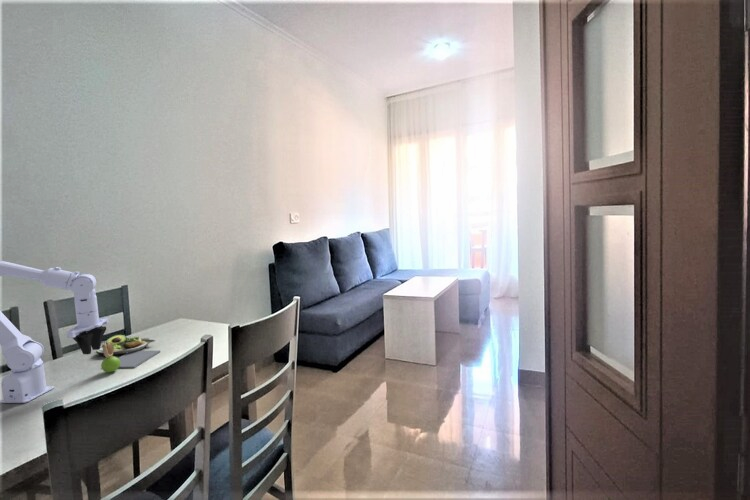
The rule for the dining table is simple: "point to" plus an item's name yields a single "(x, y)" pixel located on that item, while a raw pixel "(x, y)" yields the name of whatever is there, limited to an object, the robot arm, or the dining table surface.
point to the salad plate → (126, 344)
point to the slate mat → (135, 358)
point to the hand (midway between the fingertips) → (91, 351)
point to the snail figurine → (109, 358)
